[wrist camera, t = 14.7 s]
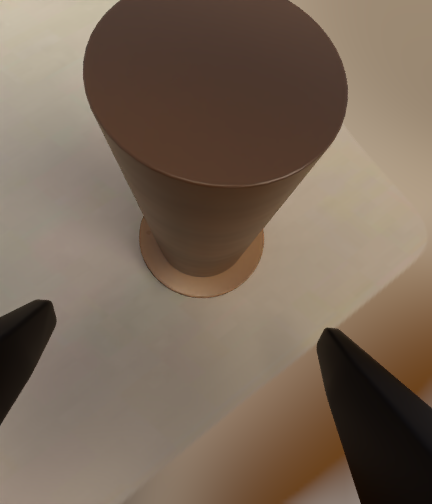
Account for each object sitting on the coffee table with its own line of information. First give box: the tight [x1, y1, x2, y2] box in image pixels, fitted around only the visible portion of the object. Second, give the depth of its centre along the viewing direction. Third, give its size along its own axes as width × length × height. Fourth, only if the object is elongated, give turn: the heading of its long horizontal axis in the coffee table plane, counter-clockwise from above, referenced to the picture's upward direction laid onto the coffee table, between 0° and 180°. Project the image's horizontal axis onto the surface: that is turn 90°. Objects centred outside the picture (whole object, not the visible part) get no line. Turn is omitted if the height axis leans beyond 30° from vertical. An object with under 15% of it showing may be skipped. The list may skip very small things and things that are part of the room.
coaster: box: [139, 216, 264, 298], centre depth 16 cm, size 8×8×1 cm
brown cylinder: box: [83, 0, 348, 277], centre depth 10 cm, size 6×6×11 cm
